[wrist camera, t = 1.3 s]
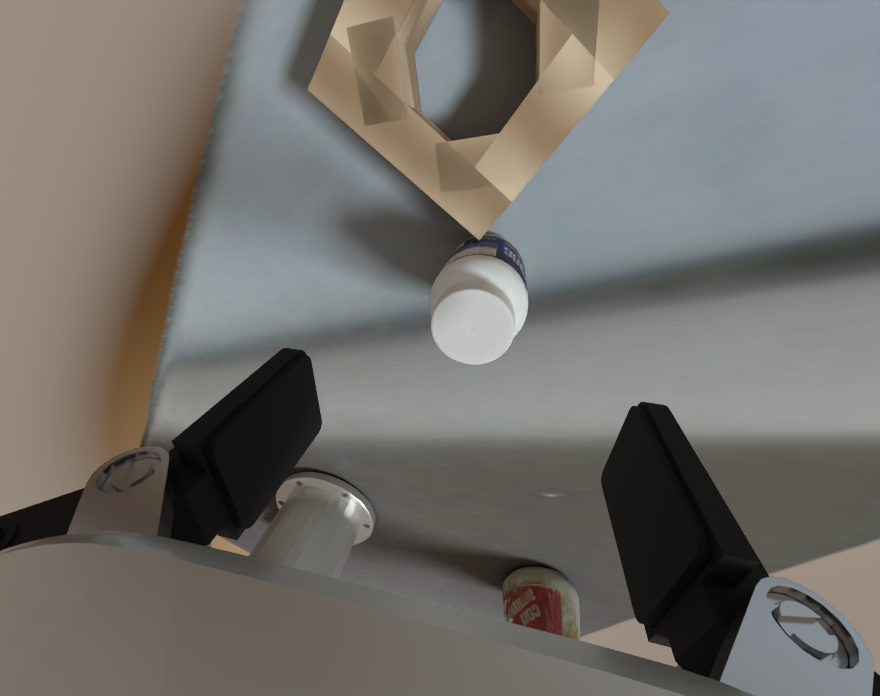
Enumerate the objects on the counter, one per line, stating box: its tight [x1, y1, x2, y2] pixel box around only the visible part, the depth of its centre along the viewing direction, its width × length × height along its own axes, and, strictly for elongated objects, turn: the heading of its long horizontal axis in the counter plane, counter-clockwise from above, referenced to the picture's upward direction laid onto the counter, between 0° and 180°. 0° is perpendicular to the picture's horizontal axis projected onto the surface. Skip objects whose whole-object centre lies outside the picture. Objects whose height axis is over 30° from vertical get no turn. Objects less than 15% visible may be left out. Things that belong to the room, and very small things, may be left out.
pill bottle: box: [429, 234, 528, 364], centre depth 20 cm, size 5×5×10 cm
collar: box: [308, 0, 669, 240], centre depth 17 cm, size 12×12×4 cm
